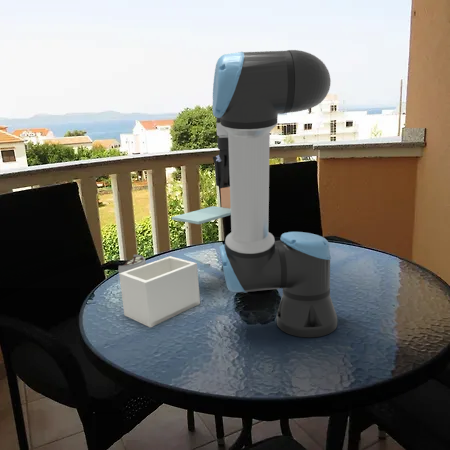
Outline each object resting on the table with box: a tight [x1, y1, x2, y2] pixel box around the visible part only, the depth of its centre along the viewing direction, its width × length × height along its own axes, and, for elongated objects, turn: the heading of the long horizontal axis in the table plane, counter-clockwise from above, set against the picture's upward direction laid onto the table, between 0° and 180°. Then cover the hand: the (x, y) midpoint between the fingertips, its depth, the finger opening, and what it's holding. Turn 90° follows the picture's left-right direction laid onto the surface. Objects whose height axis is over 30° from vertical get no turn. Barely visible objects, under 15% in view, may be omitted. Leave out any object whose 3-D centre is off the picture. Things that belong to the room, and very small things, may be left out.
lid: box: [171, 186, 231, 225], centre depth 129 cm, size 12×24×7 cm, turn 137°
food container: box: [117, 254, 147, 274], centre depth 133 cm, size 12×6×10 cm, turn 168°
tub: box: [118, 255, 201, 328], centre depth 116 cm, size 12×18×12 cm, turn 137°
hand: (232, 207), depth 136 cm, fingers closed on lid, 4 cm apart
